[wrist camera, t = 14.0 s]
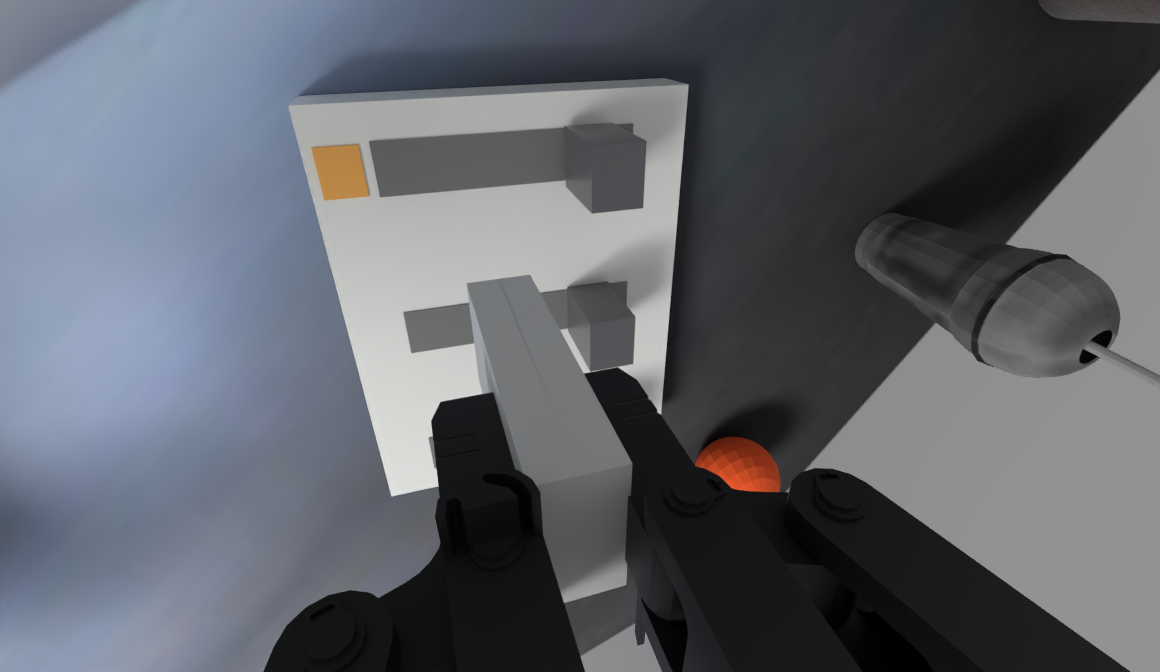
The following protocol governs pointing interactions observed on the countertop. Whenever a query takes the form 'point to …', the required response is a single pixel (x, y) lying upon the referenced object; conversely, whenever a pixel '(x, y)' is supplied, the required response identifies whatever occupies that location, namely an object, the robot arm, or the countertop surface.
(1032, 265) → the beverage cup
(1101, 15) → the pillar candle
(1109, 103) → the countertop surface
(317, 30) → the countertop surface
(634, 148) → the handle
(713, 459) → the clementine
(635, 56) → the countertop surface
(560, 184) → the breaker panel
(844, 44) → the countertop surface
